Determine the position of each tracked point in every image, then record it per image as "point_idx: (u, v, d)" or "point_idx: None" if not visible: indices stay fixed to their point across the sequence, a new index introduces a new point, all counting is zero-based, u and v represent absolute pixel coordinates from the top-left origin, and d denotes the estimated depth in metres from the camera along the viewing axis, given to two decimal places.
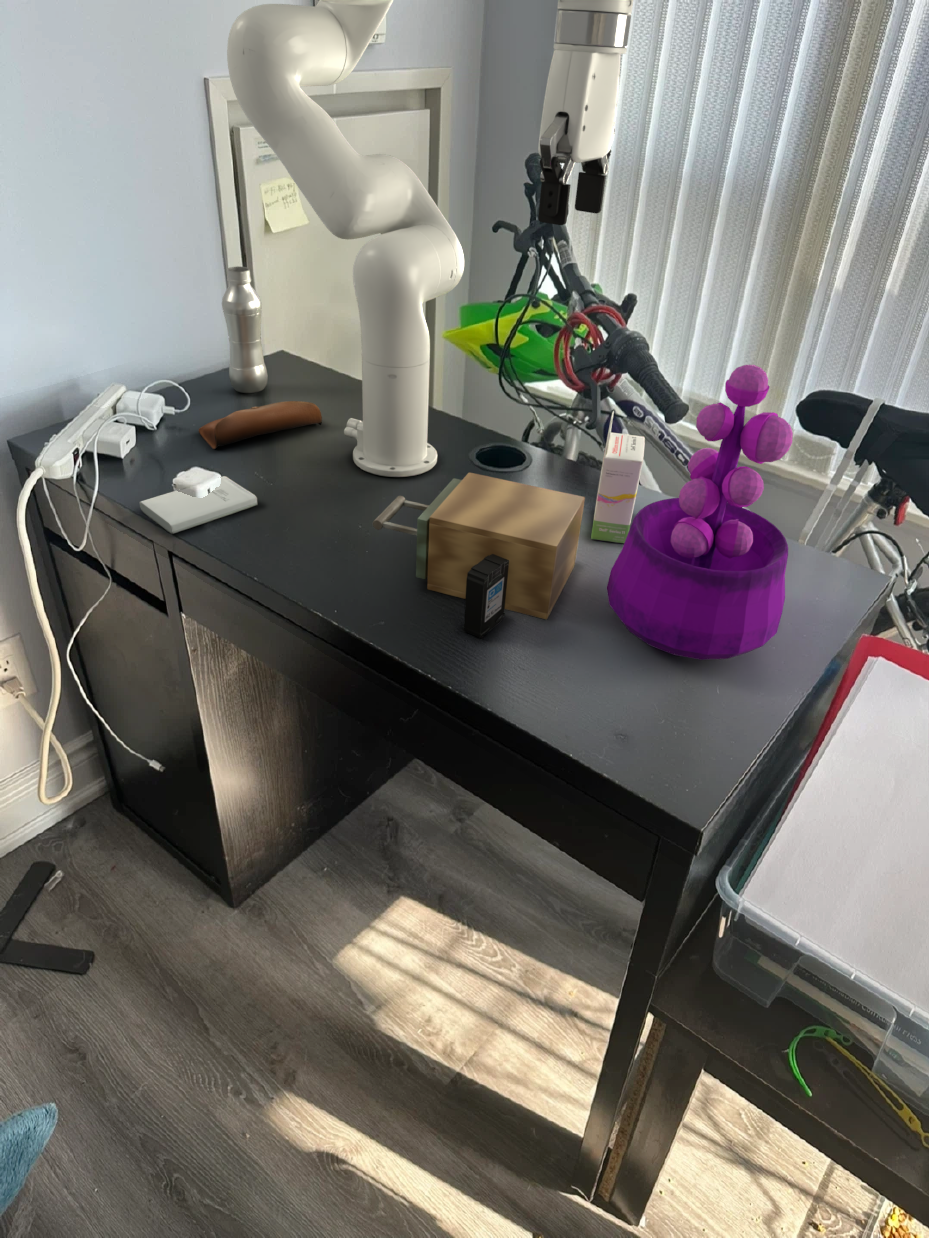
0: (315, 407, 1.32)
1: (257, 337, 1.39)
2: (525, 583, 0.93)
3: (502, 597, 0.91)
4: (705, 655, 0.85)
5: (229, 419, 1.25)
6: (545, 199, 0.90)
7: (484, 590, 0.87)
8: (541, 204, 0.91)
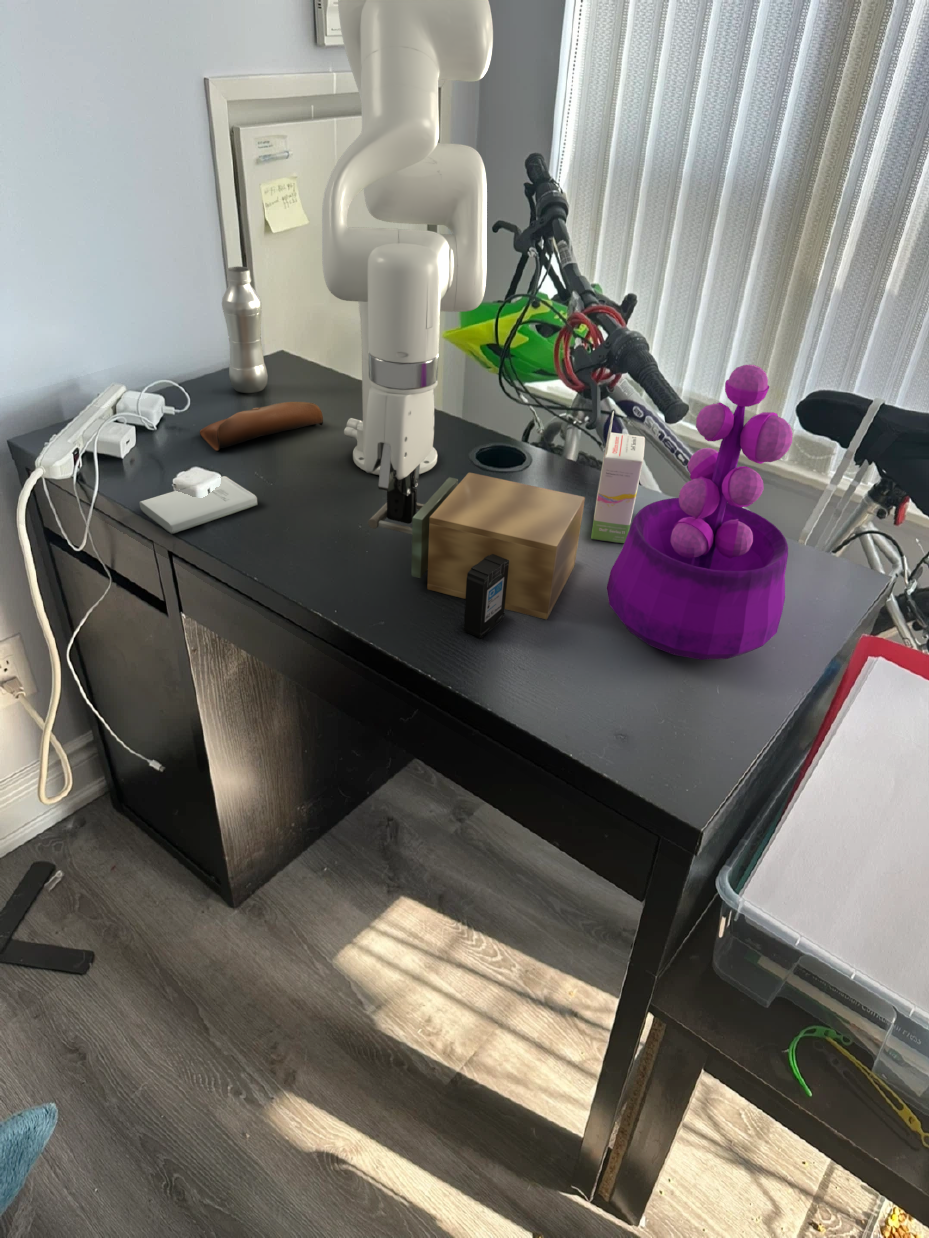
0: (316, 407, 1.32)
1: (257, 337, 1.39)
2: (525, 583, 0.93)
3: (502, 597, 0.91)
4: (705, 655, 0.85)
5: (231, 420, 1.25)
6: (392, 504, 0.99)
7: (484, 590, 0.87)
8: (388, 506, 1.00)
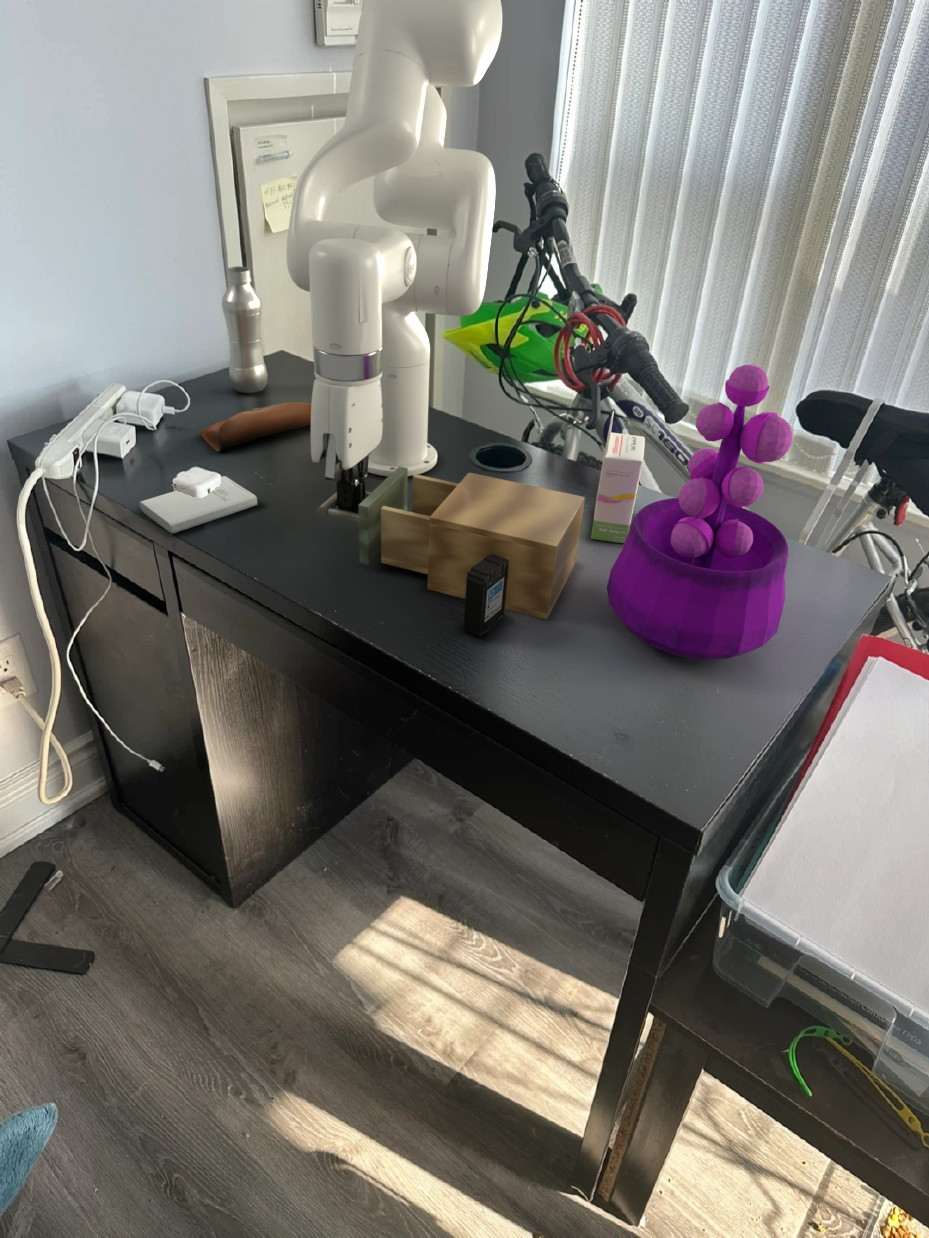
0: None
1: (257, 337, 1.39)
2: (525, 583, 0.93)
3: (502, 597, 0.91)
4: (705, 655, 0.85)
5: (232, 421, 1.25)
6: (341, 495, 1.01)
7: (484, 590, 0.87)
8: (338, 496, 1.02)
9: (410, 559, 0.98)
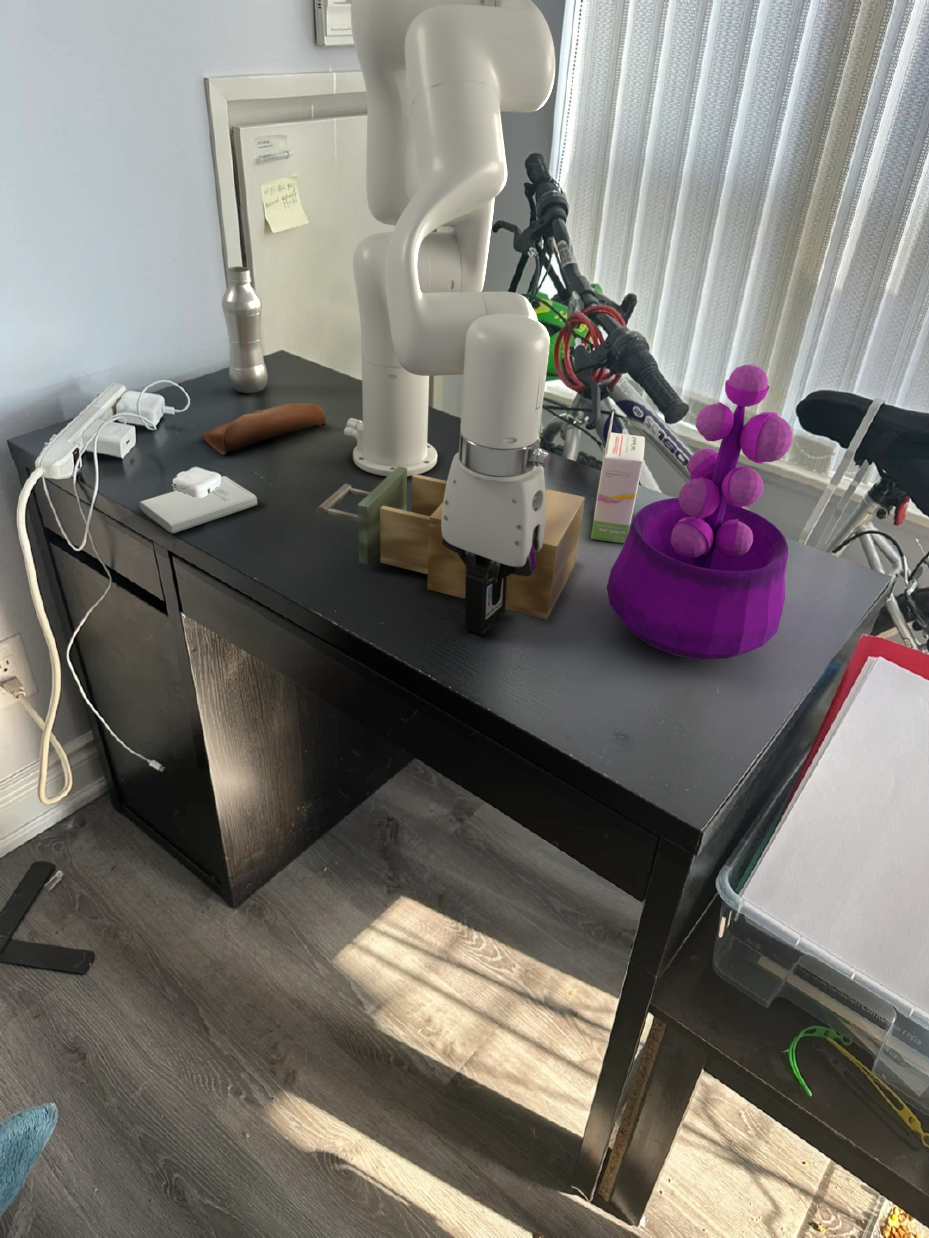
0: (319, 408, 1.32)
1: (257, 337, 1.39)
2: (525, 583, 0.93)
3: (502, 594, 0.91)
4: (705, 655, 0.85)
5: (237, 424, 1.24)
6: None
7: (483, 587, 0.87)
8: None
9: (409, 559, 0.98)
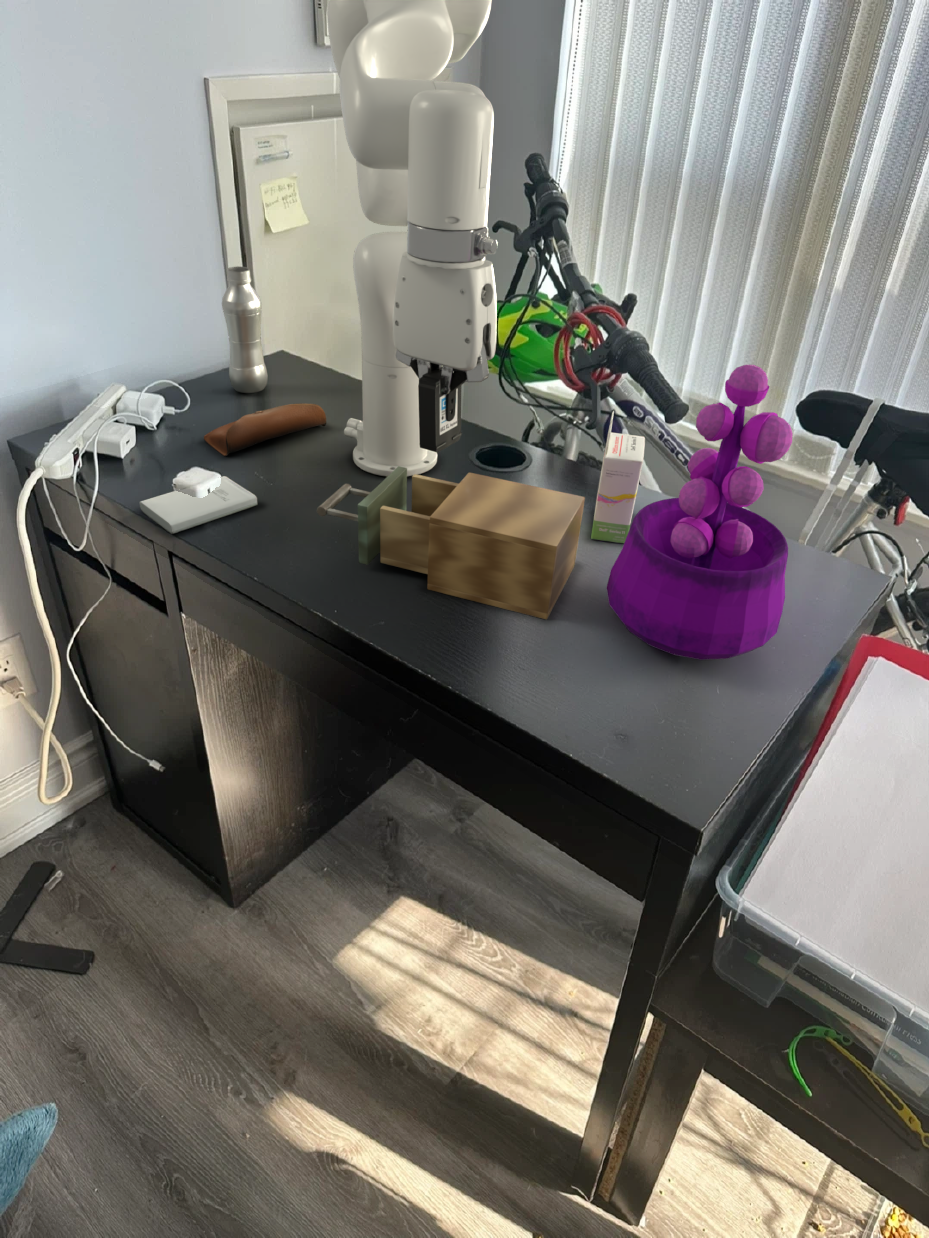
0: (319, 408, 1.32)
1: (257, 337, 1.39)
2: (525, 583, 0.93)
3: (457, 412, 0.91)
4: (705, 655, 0.85)
5: (239, 425, 1.24)
6: None
7: (436, 396, 0.86)
8: None
9: (409, 559, 0.98)
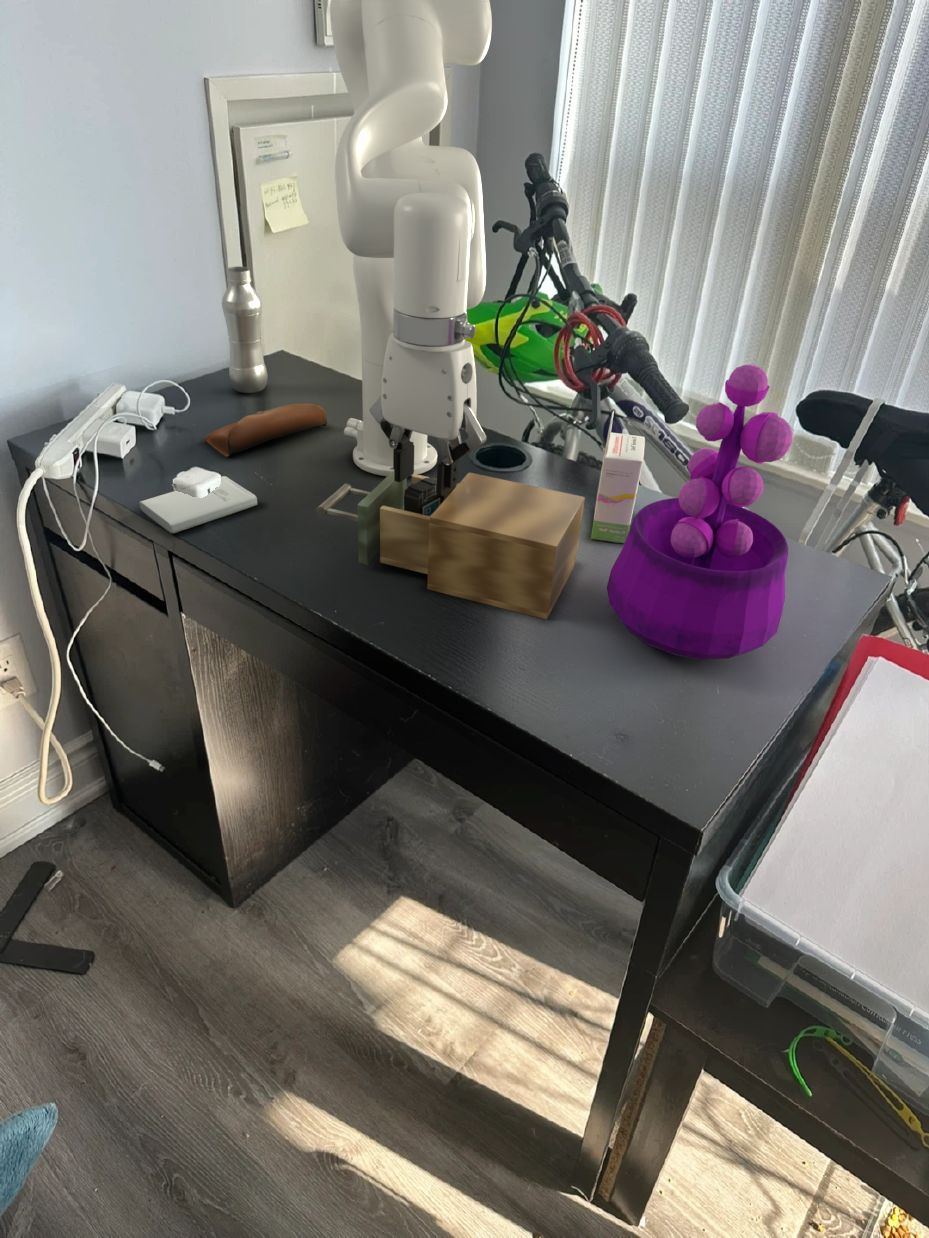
0: (320, 409, 1.32)
1: (257, 337, 1.39)
2: (525, 583, 0.93)
3: None
4: (705, 655, 0.85)
5: (240, 425, 1.24)
6: None
7: (419, 506, 0.97)
8: None
9: (409, 559, 0.98)
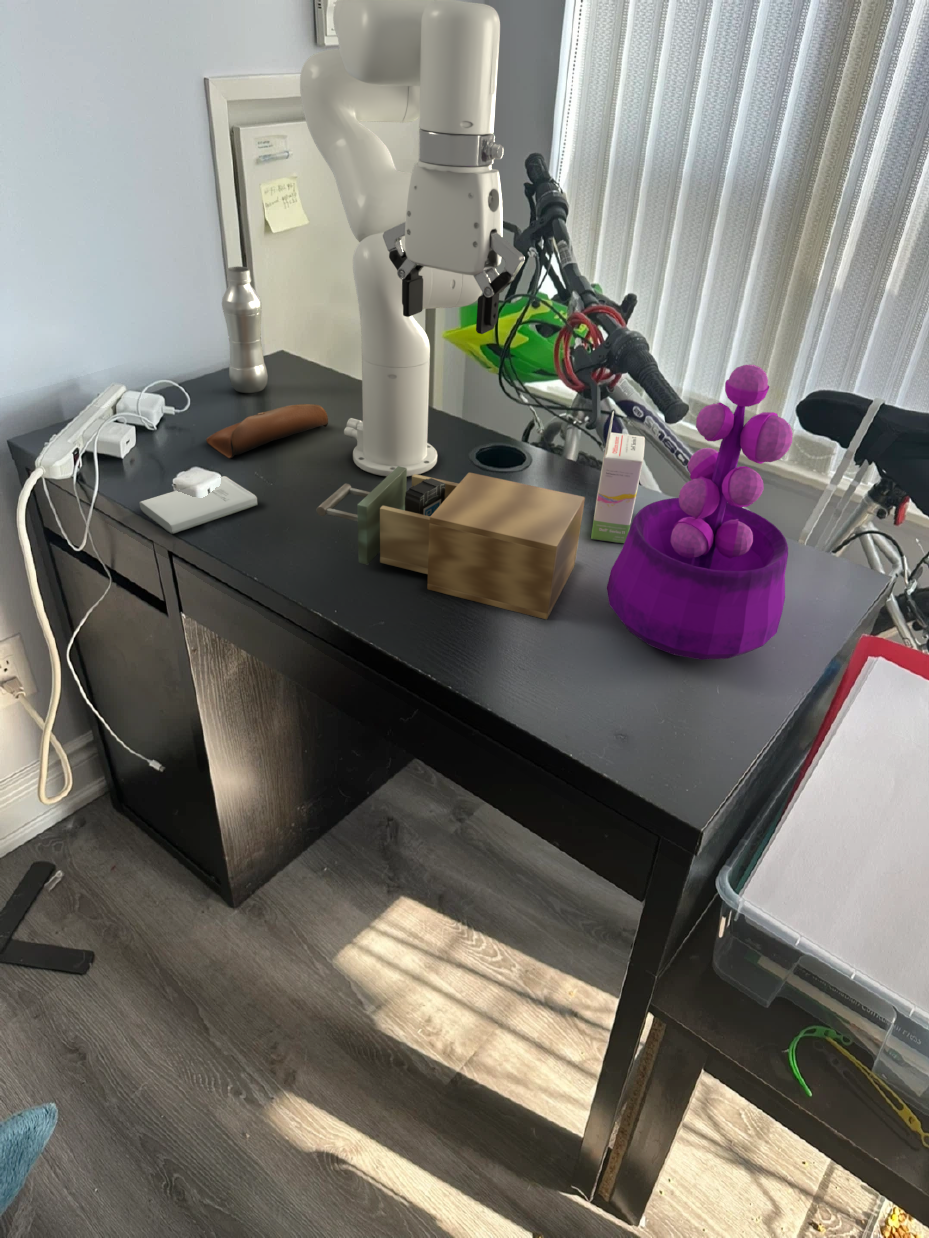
0: (321, 409, 1.32)
1: (257, 337, 1.39)
2: (525, 583, 0.93)
3: None
4: (705, 655, 0.85)
5: (243, 427, 1.23)
6: None
7: (420, 508, 0.97)
8: None
9: (409, 559, 0.98)
